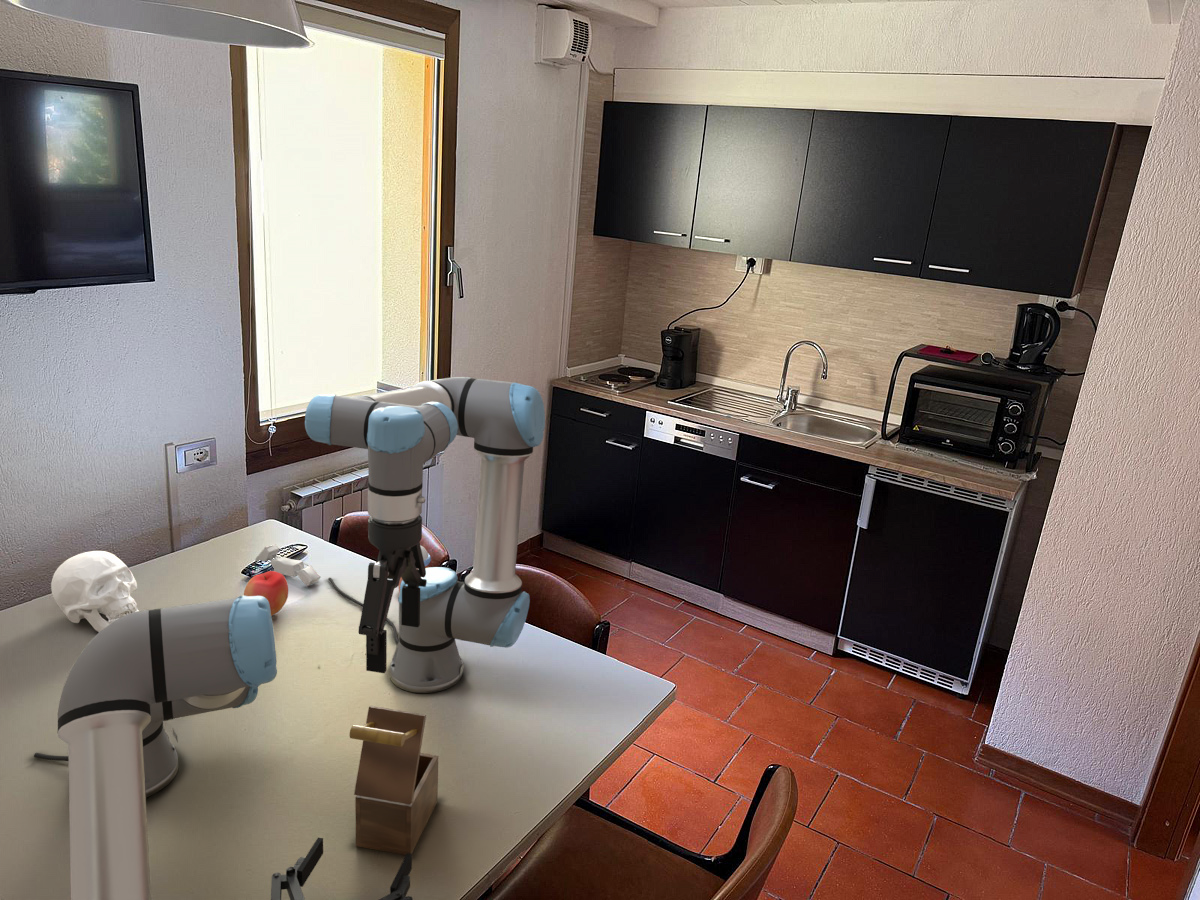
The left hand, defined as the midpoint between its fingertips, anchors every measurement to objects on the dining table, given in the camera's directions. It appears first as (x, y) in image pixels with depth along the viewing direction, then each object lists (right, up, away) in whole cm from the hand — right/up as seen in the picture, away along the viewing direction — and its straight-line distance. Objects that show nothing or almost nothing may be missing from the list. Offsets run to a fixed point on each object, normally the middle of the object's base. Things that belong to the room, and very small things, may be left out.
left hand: (364, 852), depth 125 cm
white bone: (-46, +27, +95) cm, 109 cm away
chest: (+1, -2, +15) cm, 15 cm away
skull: (-78, +21, +68) cm, 105 cm away
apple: (-44, +20, +76) cm, 90 cm away
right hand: (+4, +29, +3) cm, 30 cm away
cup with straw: (-13, +22, +90) cm, 94 cm away
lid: (+2, +12, +8) cm, 14 cm away
